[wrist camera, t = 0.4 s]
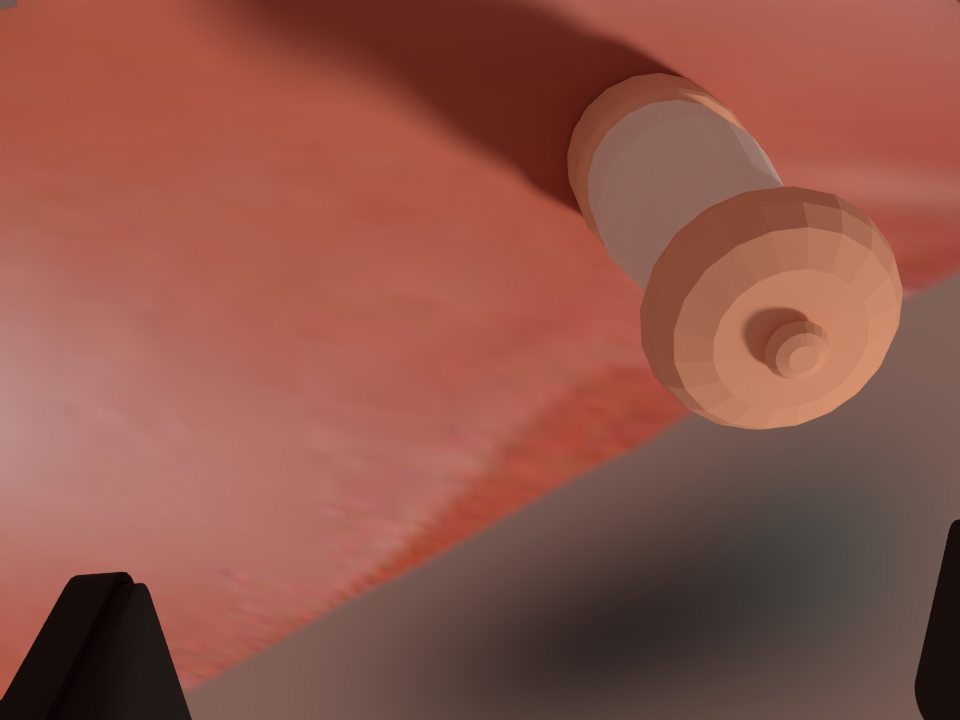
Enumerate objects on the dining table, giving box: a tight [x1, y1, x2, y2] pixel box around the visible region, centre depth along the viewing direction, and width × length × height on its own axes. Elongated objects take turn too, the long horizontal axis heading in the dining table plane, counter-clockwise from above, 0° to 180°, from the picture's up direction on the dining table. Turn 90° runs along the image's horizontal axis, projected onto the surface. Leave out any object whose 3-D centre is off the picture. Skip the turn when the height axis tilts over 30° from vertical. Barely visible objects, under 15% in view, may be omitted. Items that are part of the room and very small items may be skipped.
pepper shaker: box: [567, 73, 903, 429], centre depth 30 cm, size 7×7×19 cm
